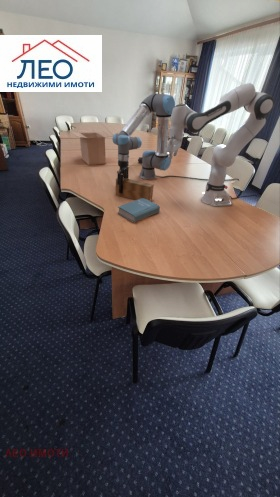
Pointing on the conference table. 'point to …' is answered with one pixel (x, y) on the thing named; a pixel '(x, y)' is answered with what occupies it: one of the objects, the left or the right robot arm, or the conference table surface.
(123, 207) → the book
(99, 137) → the box
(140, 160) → the laser sight
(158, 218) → the conference table surface
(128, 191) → the long box
